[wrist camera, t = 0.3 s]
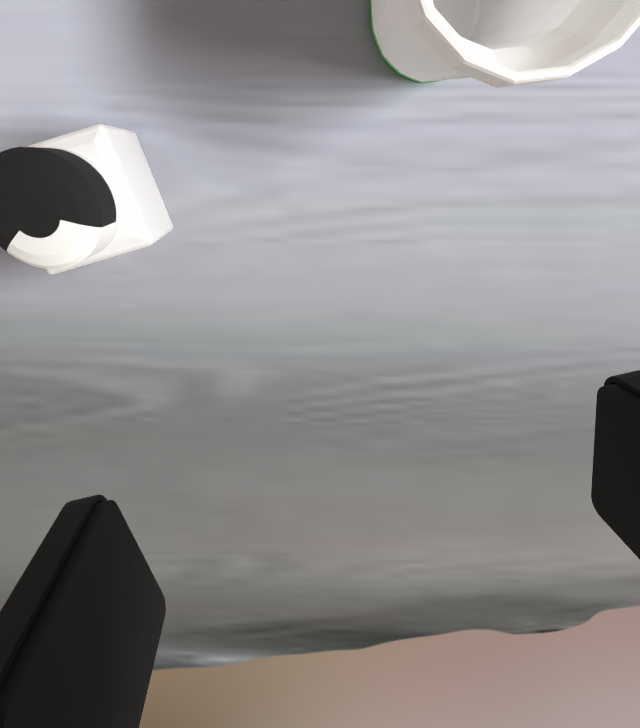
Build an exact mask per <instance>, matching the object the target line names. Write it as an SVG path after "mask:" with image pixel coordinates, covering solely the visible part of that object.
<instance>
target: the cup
mask: <svg viewBox="0 0 640 728" xmlns="http://www.w3.org/2000/svg"><path fill="white" fill-rule="evenodd" d="M370 11H371V25H372V32H373V35H374V38H375V41H376V44H377V47H378V49H379V52H380V54H381V56H382V58H383V59H384V60H385V61H386V62H387V63H388V64H389V65H390V66H391V67H392V68H393V69H394V70H395V71H396V72H397V73H398V74H400V75H402V76H404V77H406V78H408V79H411V80H413V81H416V82H419V83H423V82H433V81H438V80H447V79H458V78H468V77H472V78H475V79H477V80H479V81H482V82H484V83H487V84H489V85H492V86H494V87H496V88H499V87H507V86H516V85H524V84H532V83H540V82H548V81H552V80H557V79H562V78H567V77H569V76H571V75H572V74H574V73H576V72H578V71H579V70H581V69H583V68H585V67H586V66H588V65H590V64H592V63H593V62H595V61H597V60H599V59H600V58H602V57H604V56H606V55H608V54H609V53H611V52H613V51H615V50H616V49H618V48H620V47H621V46H622V45H623V43H624V42H625V41H626V40H627V39H628V38H629V37H630V35H631V34H632V33H633V32H634V31H635V30H636V28H637V27H638V26H639V25H640V0H371V1H370Z"/></svg>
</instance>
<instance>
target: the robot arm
mask: <svg viewBox="0 0 640 728" xmlns="http://www.w3.org/2000/svg"><path fill="white" fill-rule="evenodd" d="M591 497H592V502H593V505H594V508H595V509H596V511H597V513H598V514H599V515H600V517H601V518H602V519H603V520H604V521H605V522H606V523H607V524H608V525H609V526H610V528H611V529H612V530H613V531H614V532H615V533H616V534H617V535H618V536H619V537H620V538H621V539H622V541H623V542H624V543H625V544H626V545H627V546H628V547H629V548H630V549H631V550H632V551H633V553H634V554H635V555H636V556H637V557H638V558H639V559H640V370H638V371H633V372H629V373H625V374H620V375H616V376H612V377H609V378H608V379H607V380H606V381H605V383H604V386H603V387H601V388H599V390H598V393H597V405H596V422H595V440H594V457H593V474H592V492H591ZM165 610H166V606H165V599H164V596H163V593H162V591H161V589H160V587H159V585H158V583H157V582H156V580H155V578H154V576H153V574H152V572H151V570H150V568H149V566H148V564H147V562H146V560H145V558H144V556H143V554H142V552H141V550H140V548H139V546H138V544H137V542H136V540H135V539H134V537H133V535H132V533H131V531H130V529H129V527H128V525H127V523H126V521H125V519H124V517H123V515H122V513H121V511H120V509H119V507H118V505H117V504H116V502H114V501H113V500H108V501H107V499H106V498H105V497H104V496H102V495H95V496H91V497H86V498H82V499H78V500H73V501H70V502H68V503H66V504H65V506H64V507H63V508H62V510H61V512H60V513H59V515H58V517H57V518H56V520H55V522H54V523H53V525H52V527H51V528H50V530H49V532H48V533H47V535H46V537H45V538H44V540H43V542H42V543H41V545H40V547H39V548H38V550H37V552H36V553H35V555H34V557H33V558H32V560H31V561H30V563H29V565H28V566H27V568H26V570H25V571H24V573H23V575H22V576H21V578H20V580H19V581H18V583H17V585H16V586H15V588H14V590H13V591H12V593H11V595H10V596H9V598H8V600H7V601H6V603H5V605H4V606H3V608H2V610H1V611H0V728H139V724H140V720H141V715H142V711H143V707H144V703H145V699H146V694H147V690H148V685H149V681H150V677H151V673H152V669H153V665H154V660H155V656H156V652H157V648H158V643H159V639H160V635H161V631H162V626H163V622H164V618H165Z"/></svg>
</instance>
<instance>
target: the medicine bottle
mask: <svg viewBox="0 0 640 728" xmlns="http://www.w3.org/2000/svg"><path fill="white" fill-rule="evenodd" d="M172 228H173V226H172V223H171V221H170V218H169V216H168V213H167V211H166V208H165V206H164V203H163V201H162V198H161V196H160V193H159V191H158V188H157V186H156V183H155V181H154V178H153V176H152V173H151V171H150V168H149V166H148V163H147V161H146V158H145V156H144V153H143V151H142V148H141V146H140V143H139V141H138V138H137V136H136V134H135V132H133V131H131V130H126V129H122V128H117V127H112V126H107V125H102V124H96V125H93V126H89V127H86V128H83V129H80V130H77V131H73V132H70V133H67V134H64V135H60V136H57V137H54V138H51V139H47V140H44V141H41V142H38V143H34V144H31V145H28V146H25V147H17V148H11V149H8V150H5V151H3V152H1V153H0V246H1V247H2V248H3V249H4V250H5V251H6V252H8V253H9V254H10V255H12V256H13V257H15V258H16V259H18V260H20V261H22V262H24V263H27V264H29V265H32V266H35V267H39V268H44V269H45V271H46V272H47V273H48V274H58V273H61V272H64V271H68V270H71V269H74V268H77V267H81V266H84V265H87V264H91V263H94V262H97V261H101V260H104V259H107V258H111V257H114V256H117V255H121V254H124V253H127V252H131V251H134V250H137V249H141V248H144V247H147V246H150V245H151V244H153V243H154V242H156V241H157V240H158V239H160V238H161V237H163V236H164V235H166V234H167V233H168V232H170V231H171V230H172Z"/></svg>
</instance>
